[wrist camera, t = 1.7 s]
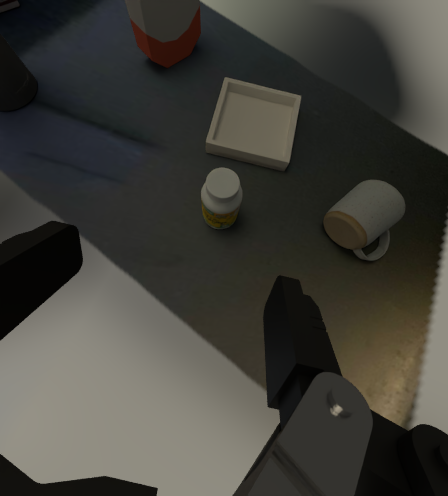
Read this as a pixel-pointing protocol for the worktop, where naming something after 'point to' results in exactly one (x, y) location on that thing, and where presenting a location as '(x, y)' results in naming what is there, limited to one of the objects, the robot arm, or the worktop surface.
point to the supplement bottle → (221, 198)
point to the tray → (254, 124)
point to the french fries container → (165, 28)
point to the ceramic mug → (365, 217)
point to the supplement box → (8, 5)
